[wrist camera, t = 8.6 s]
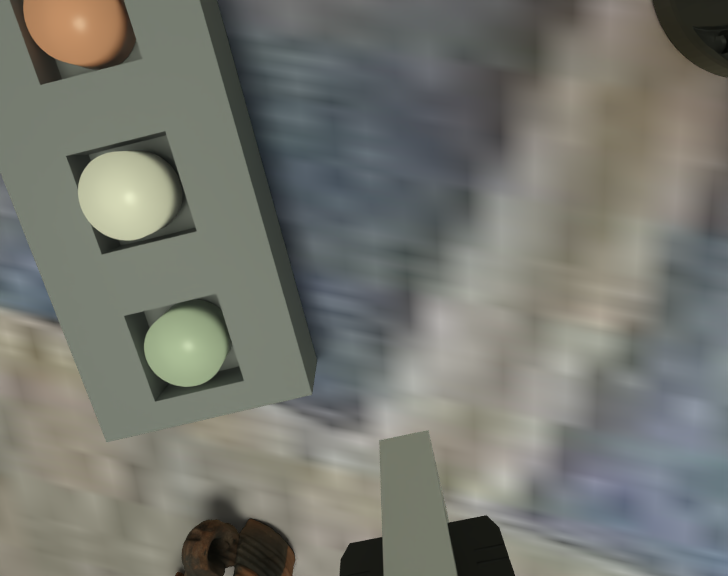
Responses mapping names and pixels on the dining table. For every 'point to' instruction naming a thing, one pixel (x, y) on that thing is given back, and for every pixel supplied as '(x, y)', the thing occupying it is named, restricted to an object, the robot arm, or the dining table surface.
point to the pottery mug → (236, 550)
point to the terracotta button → (81, 30)
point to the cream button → (129, 194)
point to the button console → (168, 245)
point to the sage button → (188, 343)
